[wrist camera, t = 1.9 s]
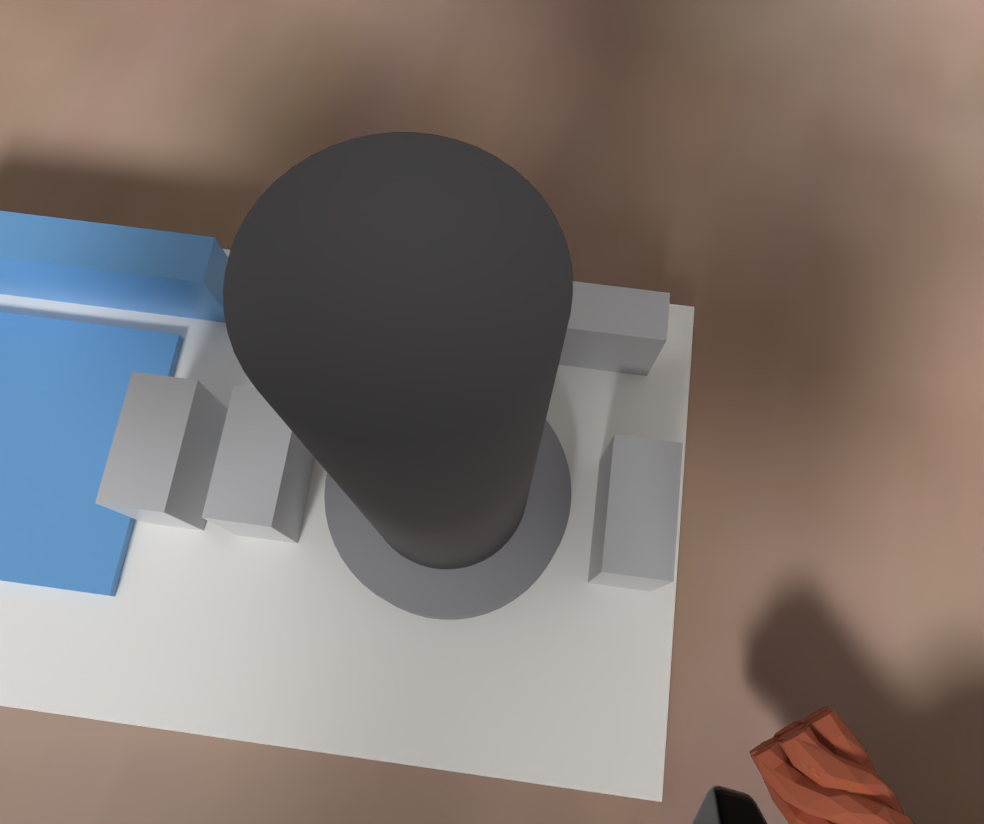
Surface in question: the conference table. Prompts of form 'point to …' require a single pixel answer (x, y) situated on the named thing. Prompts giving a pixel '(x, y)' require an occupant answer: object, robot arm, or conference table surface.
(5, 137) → the conference table surface
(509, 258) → the grey cylinder on disc
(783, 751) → the cable
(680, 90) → the conference table surface
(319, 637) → the white board with blocks
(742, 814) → the robot arm
